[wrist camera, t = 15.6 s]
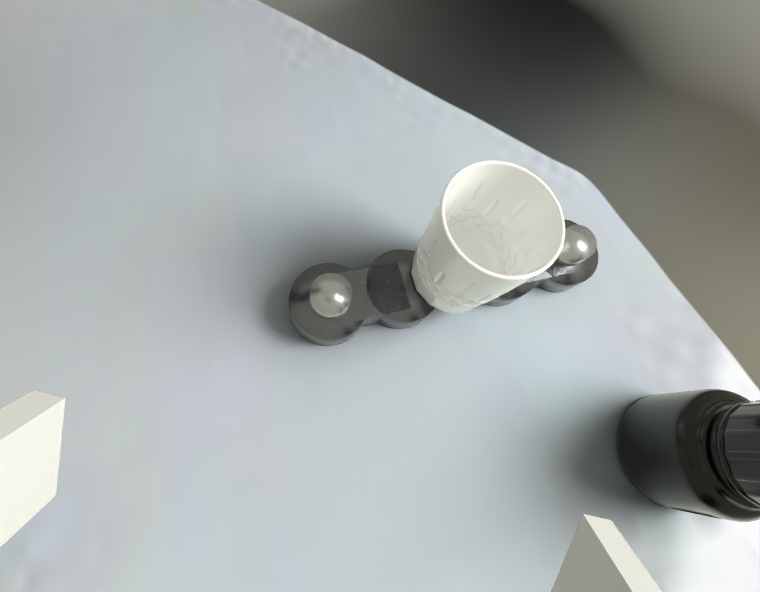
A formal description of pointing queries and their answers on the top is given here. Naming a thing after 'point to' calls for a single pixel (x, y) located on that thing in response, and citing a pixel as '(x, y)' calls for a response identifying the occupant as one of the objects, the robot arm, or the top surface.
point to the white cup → (487, 236)
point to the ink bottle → (695, 452)
